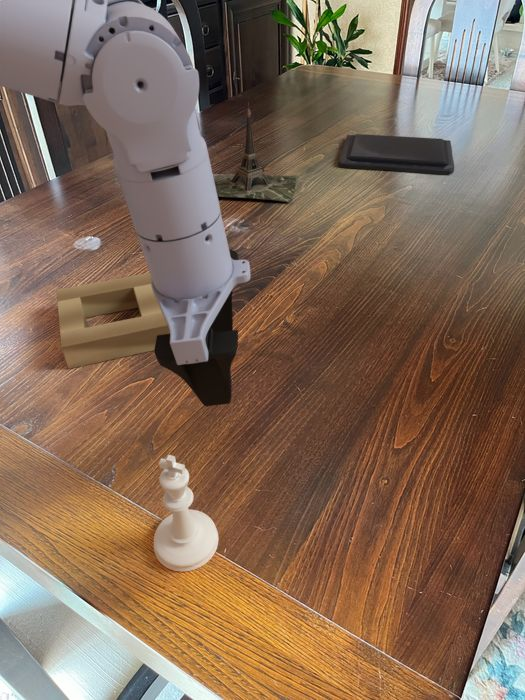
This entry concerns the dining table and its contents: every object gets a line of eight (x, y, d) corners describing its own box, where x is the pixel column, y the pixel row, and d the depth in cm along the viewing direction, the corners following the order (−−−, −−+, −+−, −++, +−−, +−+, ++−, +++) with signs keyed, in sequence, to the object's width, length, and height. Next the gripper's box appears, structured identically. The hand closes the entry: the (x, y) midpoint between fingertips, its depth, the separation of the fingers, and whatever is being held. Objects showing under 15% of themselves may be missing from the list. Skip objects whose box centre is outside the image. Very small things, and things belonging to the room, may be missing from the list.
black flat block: (336, 156, 96) (347, 127, 107) (335, 167, 97) (346, 137, 109) (455, 165, 92) (454, 134, 104) (453, 176, 94) (452, 144, 105)
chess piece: (172, 506, 45) (154, 422, 38) (228, 523, 43) (220, 439, 37) (142, 560, 41) (117, 477, 35) (202, 580, 40) (188, 499, 33)
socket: (62, 310, 66) (56, 289, 64) (154, 292, 68) (150, 272, 66) (68, 369, 58) (61, 347, 56) (172, 346, 60) (168, 324, 58)
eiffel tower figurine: (197, 199, 88) (189, 112, 80) (211, 174, 96) (205, 92, 87) (291, 204, 87) (292, 115, 78) (297, 178, 94) (299, 94, 86)
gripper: (237, 272, 30) (271, 430, 39) (238, 163, 41) (264, 306, 50) (113, 289, 31) (174, 441, 40) (146, 177, 42) (188, 316, 51)
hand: (219, 367), depth 45 cm, fingers open, 7 cm apart
